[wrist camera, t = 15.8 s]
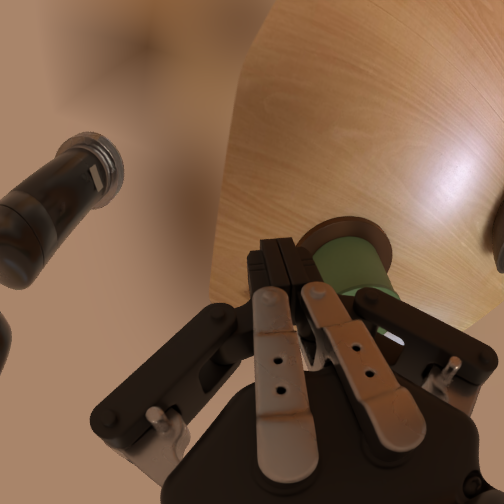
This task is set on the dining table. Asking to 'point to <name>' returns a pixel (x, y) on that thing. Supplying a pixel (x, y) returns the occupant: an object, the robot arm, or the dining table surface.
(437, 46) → the dining table surface
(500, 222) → the bowl
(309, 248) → the disc
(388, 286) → the pot
